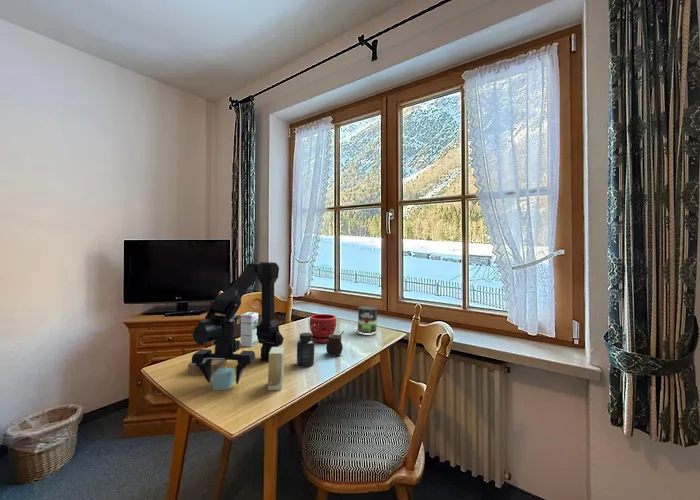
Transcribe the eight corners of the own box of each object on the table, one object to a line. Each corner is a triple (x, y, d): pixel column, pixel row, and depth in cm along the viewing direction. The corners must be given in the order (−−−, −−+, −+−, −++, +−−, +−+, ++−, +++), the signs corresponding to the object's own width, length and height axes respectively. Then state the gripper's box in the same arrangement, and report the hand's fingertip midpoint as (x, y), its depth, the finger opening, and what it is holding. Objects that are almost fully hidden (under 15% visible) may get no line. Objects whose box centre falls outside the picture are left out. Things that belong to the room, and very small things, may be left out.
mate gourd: (323, 352, 133) (324, 330, 133) (338, 350, 137) (339, 328, 137) (329, 358, 127) (330, 334, 127) (345, 356, 130) (346, 332, 130)
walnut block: (226, 364, 118) (227, 354, 118) (216, 375, 108) (216, 364, 108) (200, 364, 118) (200, 353, 118) (187, 375, 108) (188, 364, 108)
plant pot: (340, 339, 153) (341, 315, 153) (324, 346, 142) (325, 320, 142) (320, 334, 160) (320, 311, 160) (303, 340, 149) (304, 316, 149)
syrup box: (251, 347, 137) (252, 315, 137) (240, 345, 139) (240, 314, 138) (258, 343, 143) (259, 312, 143) (246, 342, 144) (247, 311, 144)
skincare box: (270, 381, 104) (271, 346, 104) (283, 381, 104) (284, 346, 104) (267, 390, 98) (268, 353, 97) (281, 390, 98) (282, 353, 98)
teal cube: (233, 383, 102) (234, 368, 102) (227, 390, 97) (228, 374, 97) (218, 382, 102) (219, 367, 102) (212, 389, 97) (212, 374, 97)
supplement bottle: (316, 362, 122) (317, 332, 122) (309, 369, 116) (310, 337, 115) (301, 359, 124) (302, 330, 124) (293, 366, 118) (294, 335, 118)
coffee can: (375, 336, 159) (376, 310, 159) (356, 335, 161) (357, 308, 161) (377, 331, 169) (378, 306, 169) (358, 329, 171) (359, 305, 171)
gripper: (260, 329, 108) (259, 373, 108) (207, 327, 108) (206, 371, 108) (250, 339, 97) (248, 388, 97) (191, 337, 97) (190, 386, 97)
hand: (223, 382), depth 100 cm, fingers open, 9 cm apart
